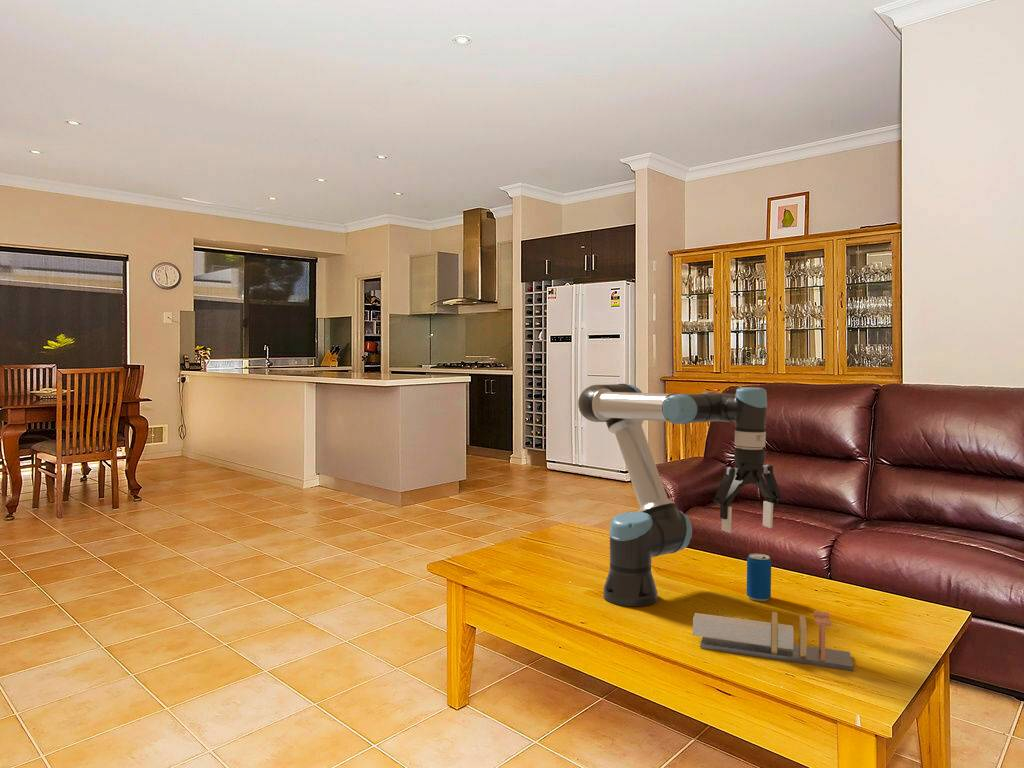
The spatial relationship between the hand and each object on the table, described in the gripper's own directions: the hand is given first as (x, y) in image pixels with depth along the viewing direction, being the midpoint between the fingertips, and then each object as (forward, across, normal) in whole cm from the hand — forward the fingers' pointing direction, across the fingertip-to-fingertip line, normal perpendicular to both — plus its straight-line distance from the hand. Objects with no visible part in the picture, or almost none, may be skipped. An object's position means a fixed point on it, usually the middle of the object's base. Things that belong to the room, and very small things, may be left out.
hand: (747, 529), depth 175 cm
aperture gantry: (+23, -1, -26) cm, 35 cm away
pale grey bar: (+21, -13, -14) cm, 29 cm away
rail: (+23, -8, -19) cm, 31 cm away
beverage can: (+24, +15, +11) cm, 30 cm away
